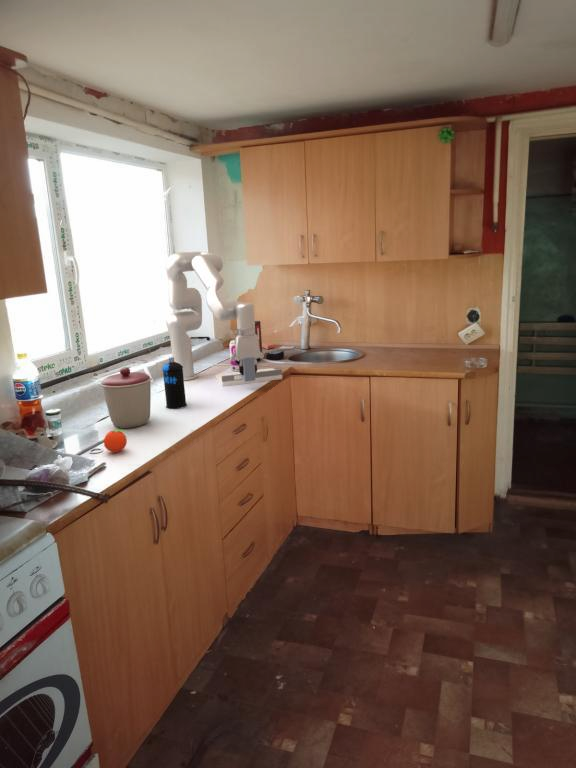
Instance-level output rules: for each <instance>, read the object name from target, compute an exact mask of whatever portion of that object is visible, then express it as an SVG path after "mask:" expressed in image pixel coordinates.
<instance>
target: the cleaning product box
mask: <svg viewBox="0 0 576 768" xmlns="http://www.w3.org/2000/svg"><path fill="white" fill-rule="evenodd" d="M261 327H262V326H261V321H260V320H255V334H256V335H257V336H258V341H259V348H260V351H261V353H262V354H263V346H262V345H263V344H262V343H263V342H262V328H261ZM256 359H257V358H256Z"/></svg>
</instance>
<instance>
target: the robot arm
mask: <svg viewBox="0 0 576 768" xmlns="http://www.w3.org/2000/svg"><path fill="white" fill-rule="evenodd" d="M223 266H224V263H223V259H222V257H220V255H218V254H217V253H214V252H213V253H212V252H204V251H190V252H189V251H186V252H177V253H172V254H171V255H169V256H168V258H167V259H166V263H165V269H166V270H165V271H166V276H167V279H168V281H167V284H168V285H167V286H168V303H169V306H170V307H171V309H172V310H175V311H176V312H174V313H171V314H170V315H168V316H167V318H166V328H167V332H168V334H169V340H170V348H171V357H174V362H176V363H179V364H181V365H182V366H183V378H184V382H185V381H191V380H195V379H197V378H198V377H199V376H198V375H199V374H198V373H196V372H195V368H194V360H193V348H192V341H191V338H190V336H189V335H188V333H187V332H191V331H196V330H198V329H200V328H201V327H202V323H203V302H202V295H201V292H200V291H199V290H198V289H197V288H195V287H188V279H187V277H186V275H185V272H195V275H196V276H197V277H198V278H199V280H200V282H201V284H203V286H204V287H205V289H206V294H205V298H206V304H207V307H208V309H209V311H210V312H211V313H212V315H213V316H214V317H215V318H216V319H217V320H218V321H222V322H225V321H231V320H236V330H235V329H234V330H233V334H234V335H235V334H236V336H235V339H234V340H235V352H234V354H233V355H232V357H231V360H232V361H234V362H236V363H237V364H238V365H239V372H240V373H241V375H244V371H243V365H242V363H243V358H252V357H254V361H255V374H256V372H257V370H258V365H259V363H260V362H261V360H262V359H264V357H265V354H263V352H262V353H261V351H260V348H259V341H258V336H257V335H256V334H255V321H256V320H255V306H254V304H253V303H252V302H243V301H240V300H233V301H225V302H222V301H221V299H220V298H219V296H218V294H217V292H218V291H219V290H220V289H221V288H222V287H223V285H224V283H225V280H224V278H223V276H222V275H221V274H220V272H221V271H222V270H223ZM179 310H180V311H179ZM181 310H184V311H181ZM177 311H179V312H177ZM235 357H236V358H237V359H239V361H238V360H236V359H235ZM256 358H257V359H256ZM231 360H230V361H231Z"/></svg>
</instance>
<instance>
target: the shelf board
mask: <svg viewBox="0 0 576 768" xmlns="http://www.w3.org/2000/svg"><path fill="white" fill-rule="evenodd" d="M215 377H216V380H217V381H218V383H219V384H220V385H221V386H222V387H227V386H228V387H229V386H235V385H244V384H245V385H246V384H251V383H253V384H254V383H260V382H268V381H277V380H283V369H282V368H279V369H278V368H277V369H275V368H274V367H270V368H269V367H268V368H261V369H257V372H256V374H255V381H246V382H245V381H244V380H243V379H242V378H241V373H240V372H236V371H233V372H226V373H218V374H215Z"/></svg>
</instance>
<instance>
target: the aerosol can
mask: <svg viewBox="0 0 576 768" xmlns="http://www.w3.org/2000/svg"><path fill="white" fill-rule="evenodd" d="M168 360H169V361H168V363H166V364H164V365H163V366H162V368H161V370H162V374H163V384H164V385H163V386H164V394H165V395H164V396H165V403H166V406H165V408H167V409H169V410H171V409H172V410H177V409H183V408H185V407H187V405H188V404H187V402H186V401H187V400H186V388H185V381H184V378H183V366H182V365H181V364H179V363H176V362H174V357H172V356H169V357H168Z"/></svg>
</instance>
